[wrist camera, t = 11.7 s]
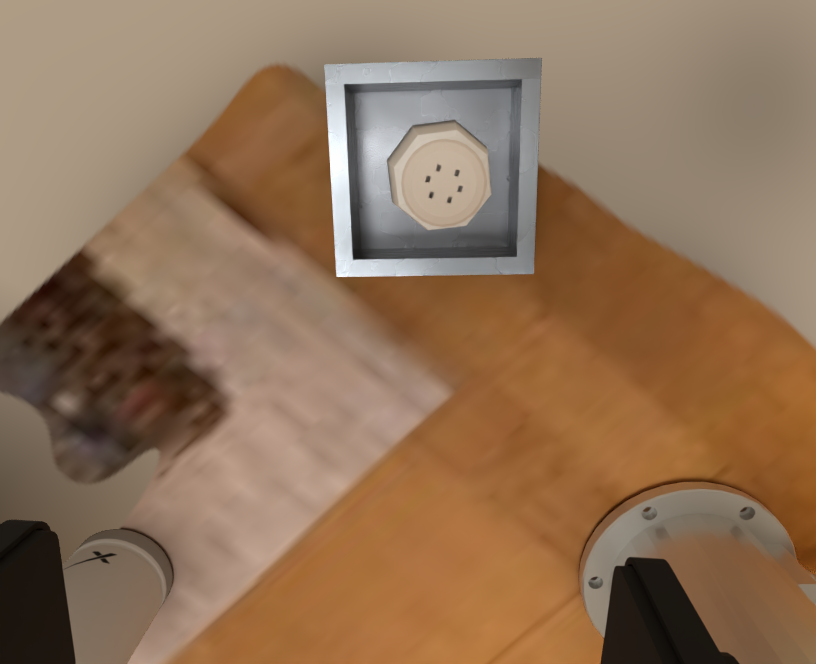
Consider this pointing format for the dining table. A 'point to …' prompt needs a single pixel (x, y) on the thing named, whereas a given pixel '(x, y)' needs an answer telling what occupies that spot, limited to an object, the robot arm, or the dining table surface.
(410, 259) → the grey square tray
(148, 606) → the travel mug
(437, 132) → the pepper shaker
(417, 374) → the dining table surface
